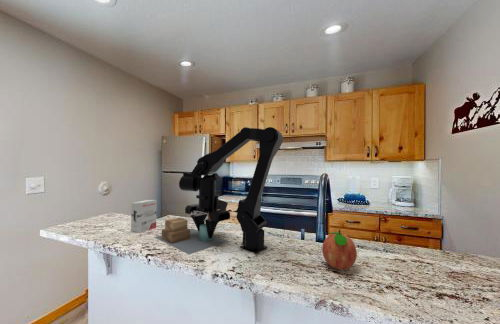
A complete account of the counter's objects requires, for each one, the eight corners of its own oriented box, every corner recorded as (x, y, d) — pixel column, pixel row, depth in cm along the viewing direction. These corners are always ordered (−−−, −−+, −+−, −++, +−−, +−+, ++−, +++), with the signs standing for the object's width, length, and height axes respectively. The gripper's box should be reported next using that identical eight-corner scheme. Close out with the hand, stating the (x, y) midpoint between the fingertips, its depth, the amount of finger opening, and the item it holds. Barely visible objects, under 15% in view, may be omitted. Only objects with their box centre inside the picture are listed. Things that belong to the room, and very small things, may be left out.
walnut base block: (190, 238, 78) (190, 229, 78) (171, 243, 72) (172, 233, 72) (179, 234, 82) (179, 225, 82) (161, 238, 77) (161, 229, 77)
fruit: (353, 262, 62) (353, 227, 62) (360, 278, 53) (360, 237, 53) (321, 258, 64) (322, 224, 65) (322, 272, 55) (323, 233, 56)
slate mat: (228, 242, 76) (228, 241, 76) (188, 255, 64) (189, 254, 64) (192, 229, 90) (192, 228, 90) (154, 238, 78) (154, 237, 78)
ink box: (147, 227, 92) (148, 199, 92) (156, 228, 90) (157, 199, 91) (129, 232, 84) (131, 201, 84) (139, 234, 82) (140, 202, 83)
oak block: (187, 229, 77) (187, 220, 78) (173, 232, 73) (173, 222, 73) (178, 226, 81) (179, 217, 81) (164, 229, 77) (165, 219, 77)
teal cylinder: (215, 239, 77) (215, 225, 78) (204, 242, 74) (205, 227, 74) (207, 236, 80) (207, 222, 81) (196, 239, 77) (196, 225, 77)
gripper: (241, 193, 78) (240, 237, 77) (208, 188, 90) (207, 226, 89) (217, 195, 69) (216, 245, 69) (184, 190, 81) (183, 232, 81)
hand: (205, 236), depth 77 cm, fingers closed on teal cylinder, 5 cm apart
